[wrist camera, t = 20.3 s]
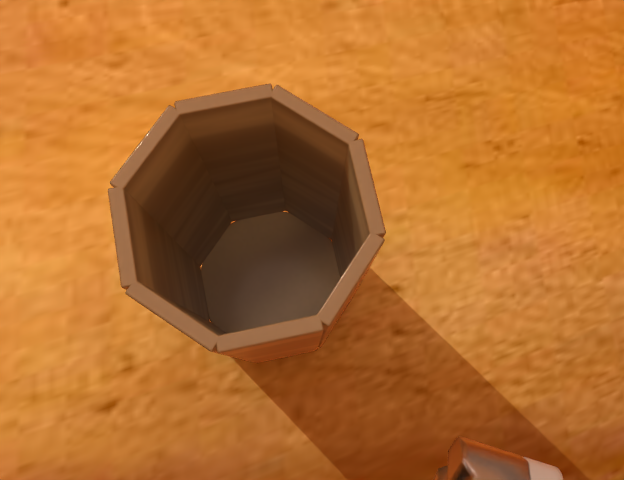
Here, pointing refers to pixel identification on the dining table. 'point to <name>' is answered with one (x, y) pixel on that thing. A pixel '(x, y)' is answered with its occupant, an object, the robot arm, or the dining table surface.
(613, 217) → the dining table surface
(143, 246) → the octagonal wooden container
